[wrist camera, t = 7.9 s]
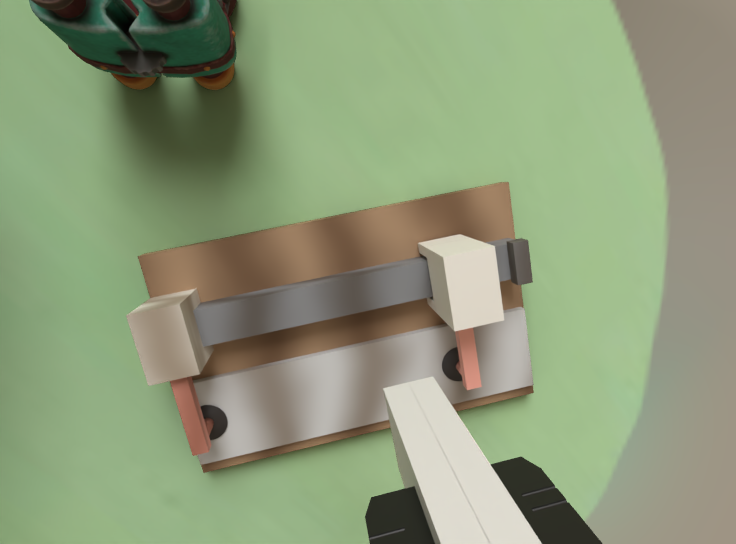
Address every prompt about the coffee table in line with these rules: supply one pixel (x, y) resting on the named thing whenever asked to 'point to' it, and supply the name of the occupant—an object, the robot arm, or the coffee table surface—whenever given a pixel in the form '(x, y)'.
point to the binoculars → (147, 37)
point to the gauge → (323, 325)
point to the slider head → (464, 293)
